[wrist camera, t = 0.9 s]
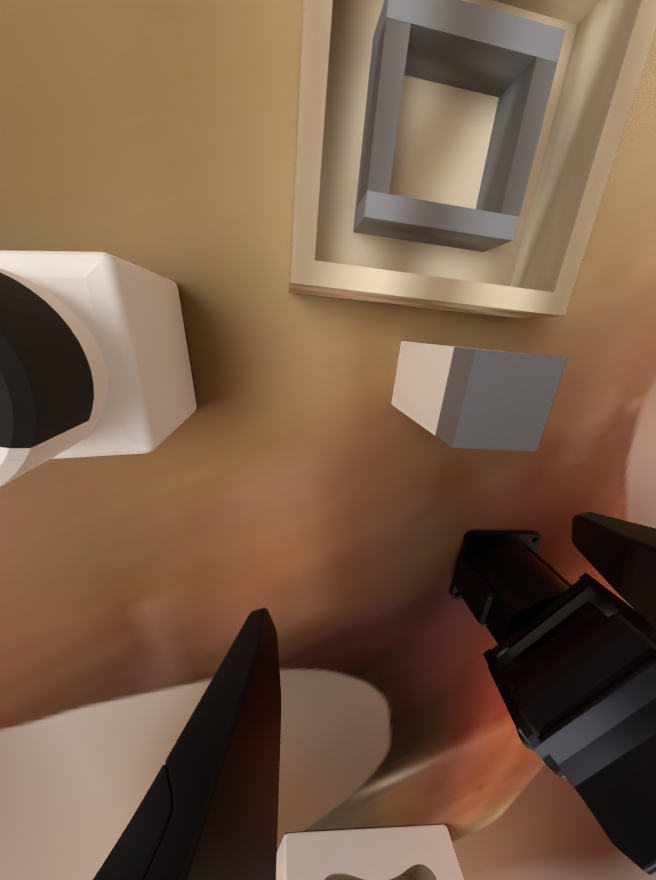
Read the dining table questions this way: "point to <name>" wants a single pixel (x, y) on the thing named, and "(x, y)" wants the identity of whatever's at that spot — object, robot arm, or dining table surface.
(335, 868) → the gable box
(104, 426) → the medicine bottle
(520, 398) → the grey rectangular prism
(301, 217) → the socket box
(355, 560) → the dining table surface
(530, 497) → the dining table surface
